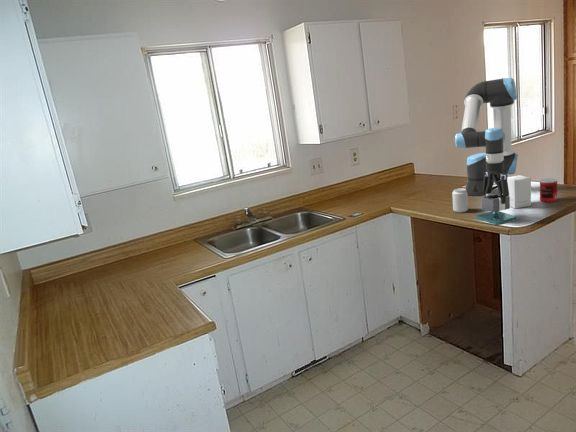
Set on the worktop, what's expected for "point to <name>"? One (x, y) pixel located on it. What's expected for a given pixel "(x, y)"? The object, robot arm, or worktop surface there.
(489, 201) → the grey open box
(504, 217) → the plate
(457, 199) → the can
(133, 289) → the worktop surface
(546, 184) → the canned food
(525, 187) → the supplement box
